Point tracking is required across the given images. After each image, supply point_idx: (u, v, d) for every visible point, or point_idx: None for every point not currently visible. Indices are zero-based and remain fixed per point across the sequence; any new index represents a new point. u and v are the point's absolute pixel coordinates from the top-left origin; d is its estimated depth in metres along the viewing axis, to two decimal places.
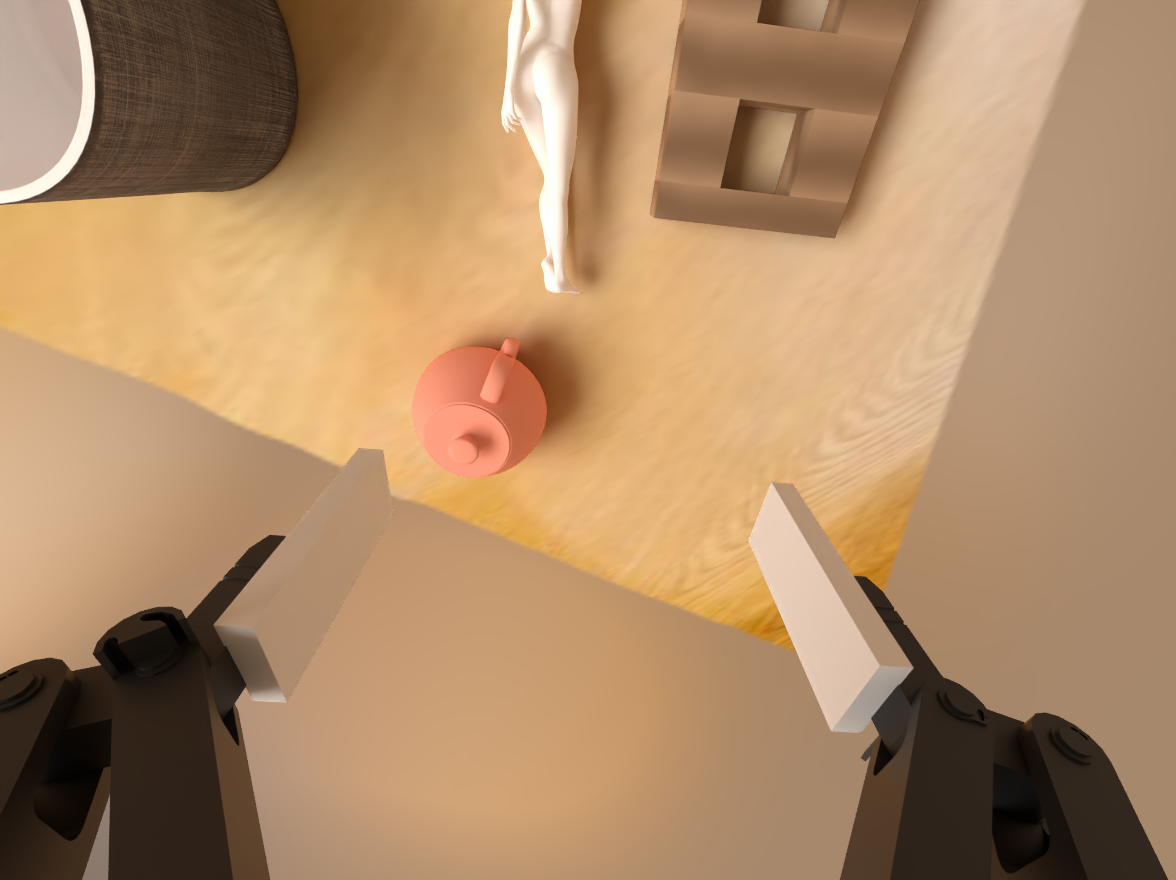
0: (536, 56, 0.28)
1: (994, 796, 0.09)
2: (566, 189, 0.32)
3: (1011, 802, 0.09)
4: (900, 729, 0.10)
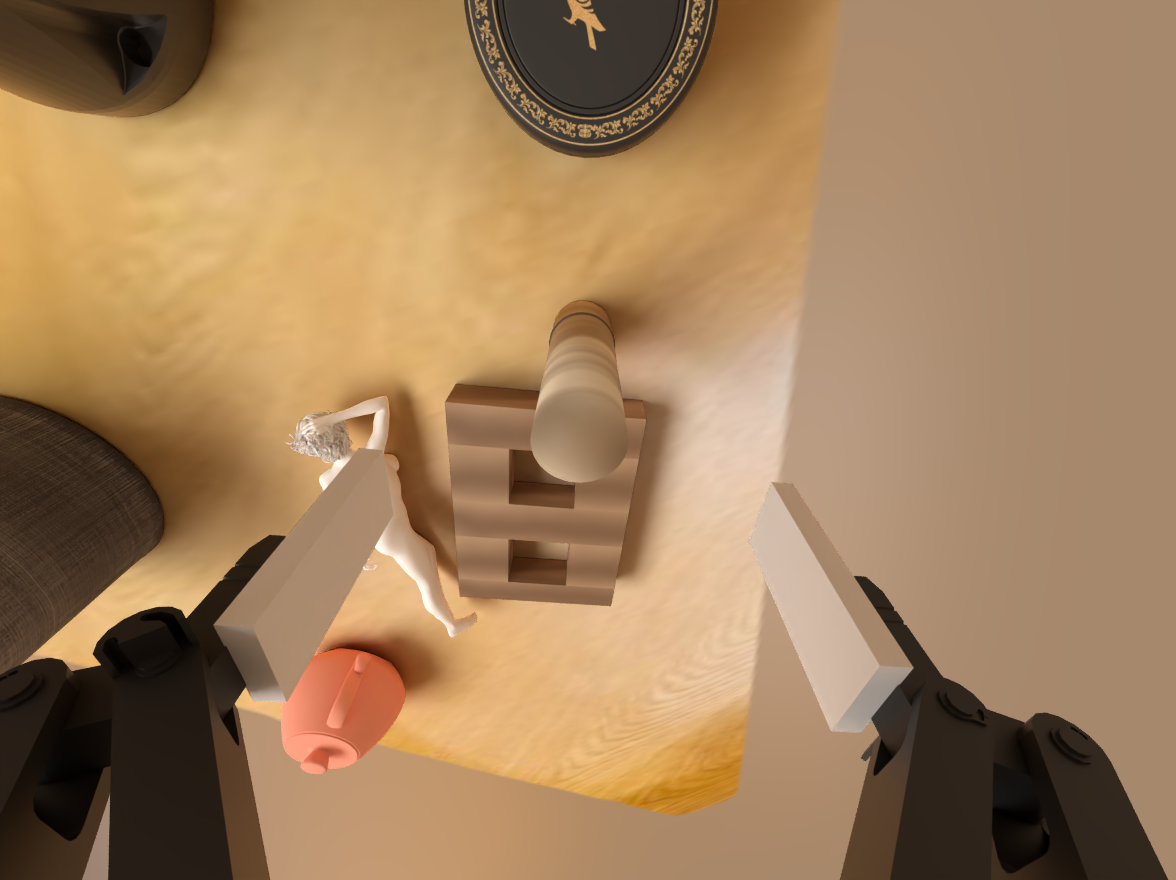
0: None
1: (994, 796, 0.09)
2: (430, 584, 0.39)
3: (1010, 802, 0.09)
4: (900, 729, 0.10)
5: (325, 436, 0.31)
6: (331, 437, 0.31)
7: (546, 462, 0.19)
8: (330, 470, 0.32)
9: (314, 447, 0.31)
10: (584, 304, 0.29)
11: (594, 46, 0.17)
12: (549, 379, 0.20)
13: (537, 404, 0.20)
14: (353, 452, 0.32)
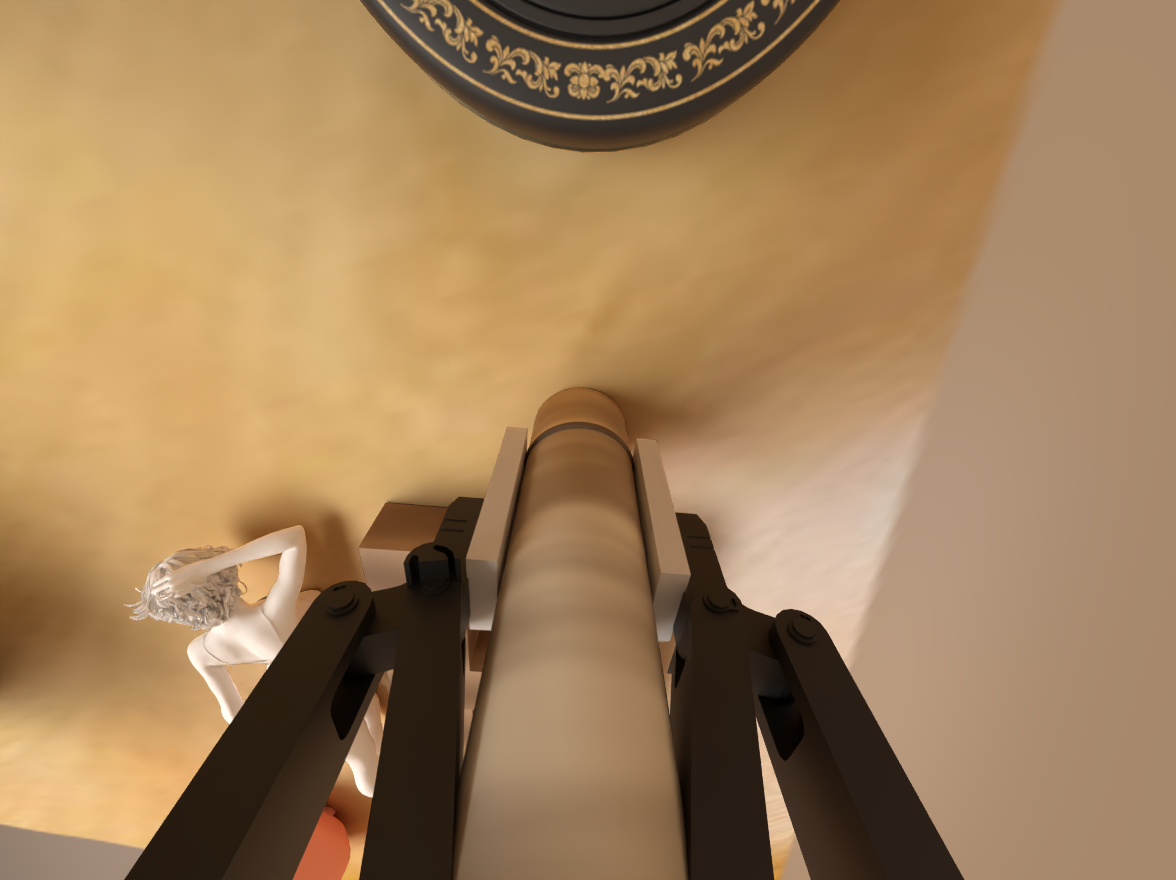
0: None
1: None
2: (366, 762, 0.28)
3: (761, 684, 0.11)
4: (685, 639, 0.11)
5: (192, 597, 0.19)
6: (202, 598, 0.19)
7: None
8: (205, 637, 0.21)
9: (172, 615, 0.19)
10: (583, 398, 0.18)
11: None
12: (499, 671, 0.09)
13: (466, 749, 0.08)
14: (244, 610, 0.21)
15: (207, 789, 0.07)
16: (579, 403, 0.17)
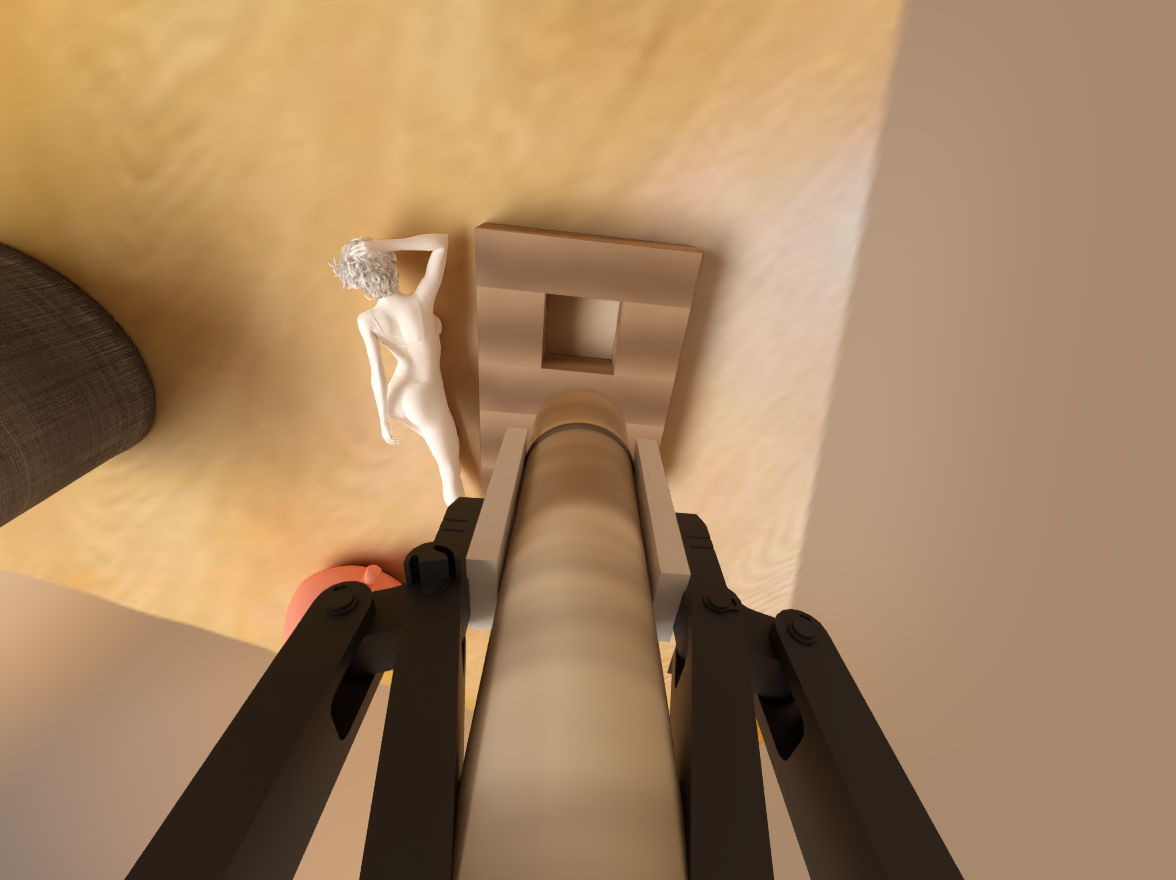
0: (403, 394, 0.31)
1: None
2: (455, 472, 0.35)
3: (761, 684, 0.11)
4: (685, 639, 0.11)
5: (376, 263, 0.27)
6: (382, 265, 0.27)
7: None
8: (372, 309, 0.28)
9: (362, 273, 0.27)
10: (583, 398, 0.18)
11: None
12: (499, 672, 0.09)
13: (466, 751, 0.08)
14: (401, 293, 0.29)
15: (207, 789, 0.07)
16: (579, 404, 0.17)
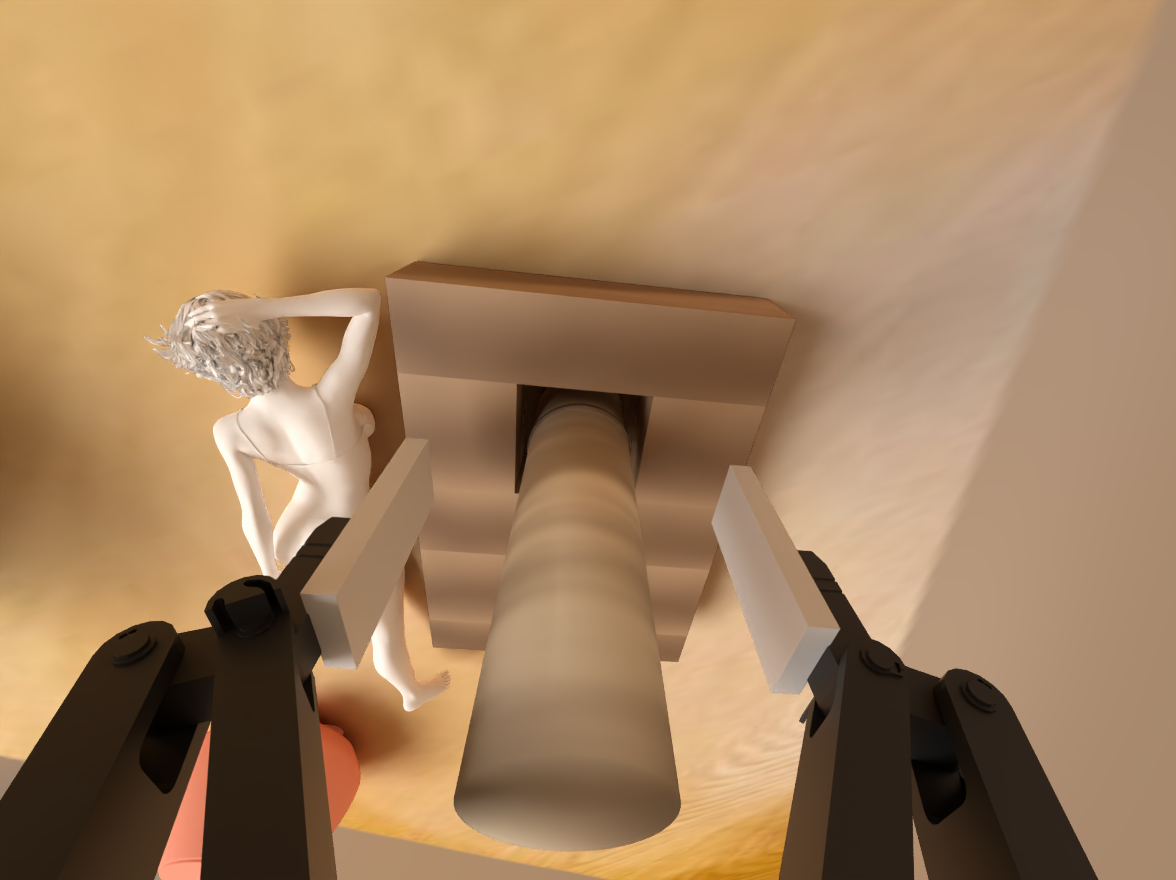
0: (303, 536, 0.19)
1: (912, 746, 0.10)
2: (391, 632, 0.23)
3: (926, 751, 0.10)
4: (830, 690, 0.10)
5: (238, 341, 0.15)
6: (251, 345, 0.15)
7: (494, 831, 0.08)
8: (239, 413, 0.16)
9: (209, 359, 0.15)
10: None
11: None
12: (509, 606, 0.10)
13: (481, 670, 0.09)
14: (293, 386, 0.17)
15: None
16: None
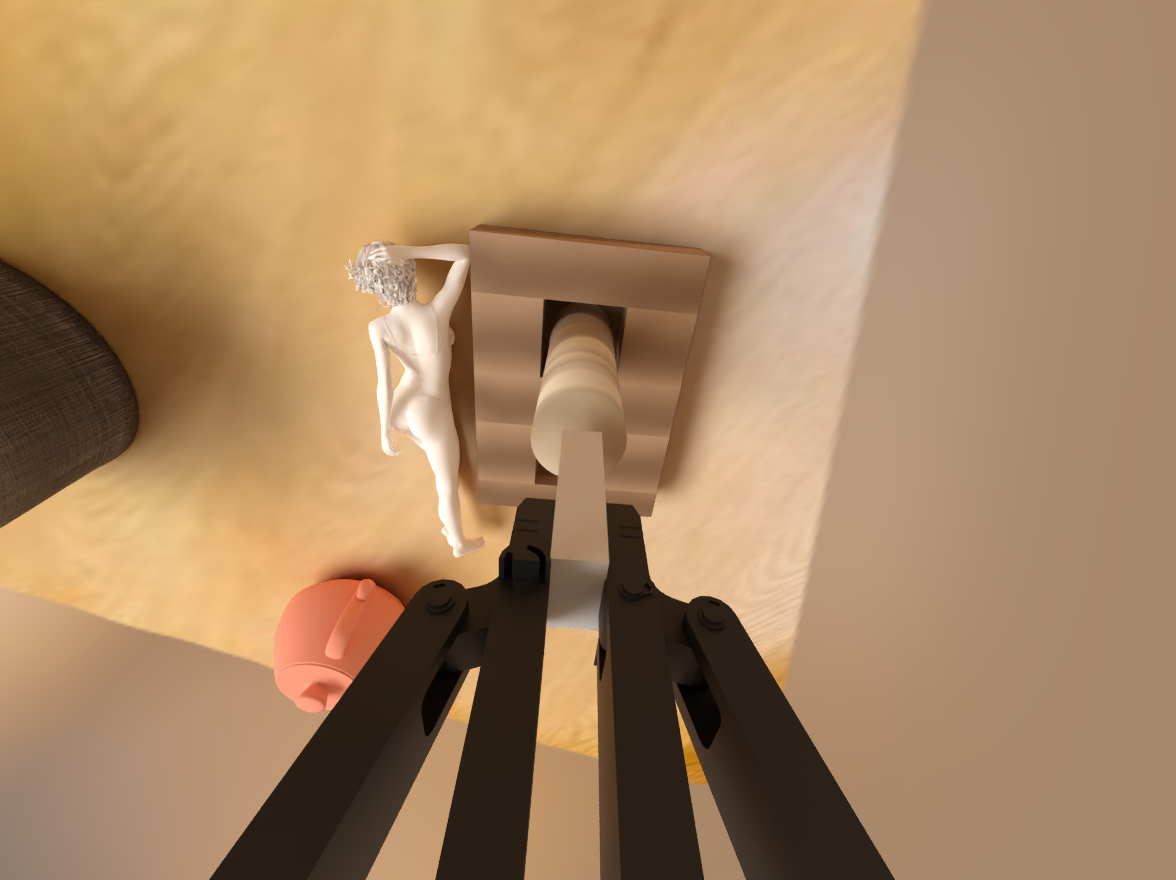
0: (409, 406, 0.30)
1: None
2: (453, 488, 0.34)
3: (674, 670, 0.11)
4: (606, 630, 0.11)
5: (395, 270, 0.25)
6: (402, 273, 0.26)
7: (546, 460, 0.19)
8: (385, 317, 0.27)
9: (379, 279, 0.25)
10: (584, 304, 0.29)
11: None
12: (549, 378, 0.20)
13: (537, 403, 0.20)
14: (418, 302, 0.27)
15: (312, 765, 0.07)
16: (581, 306, 0.29)
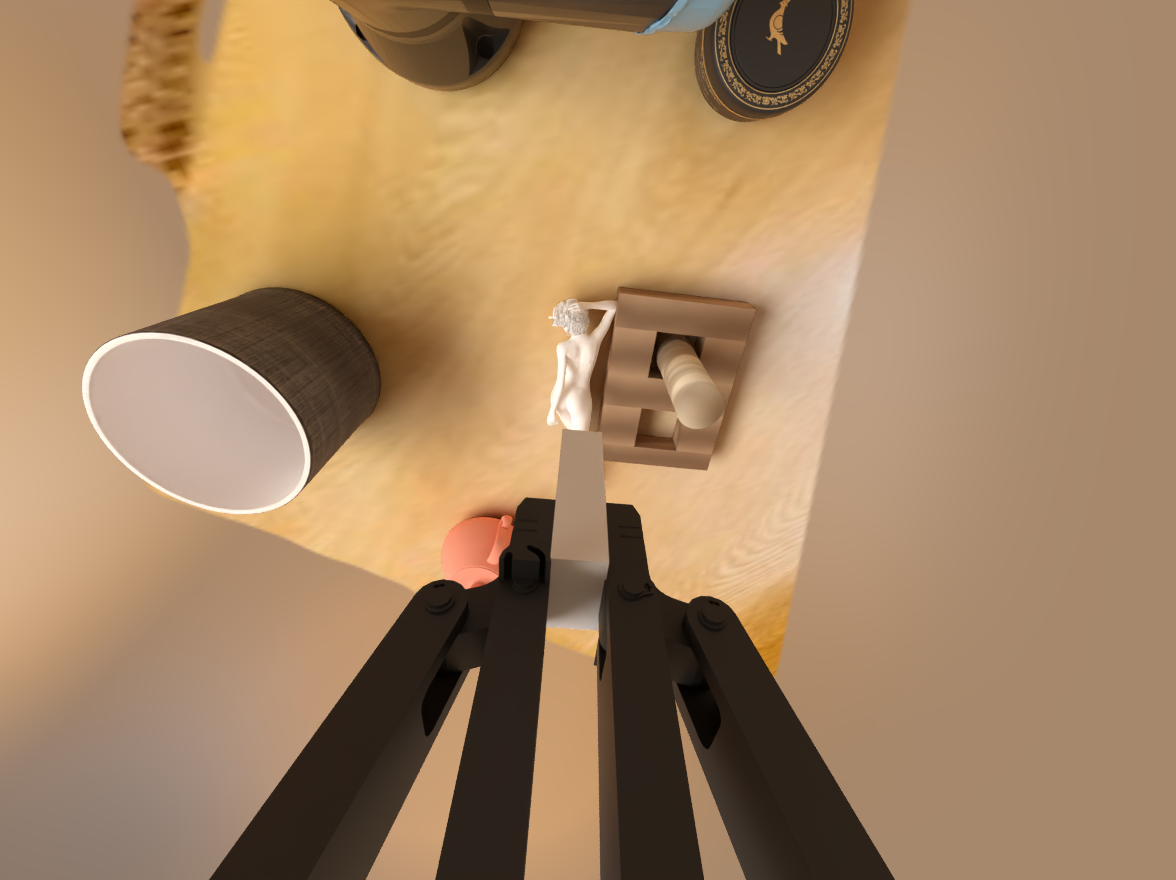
0: (569, 394, 0.49)
1: None
2: None
3: (674, 670, 0.11)
4: (606, 630, 0.11)
5: (581, 315, 0.45)
6: (584, 317, 0.45)
7: (682, 418, 0.38)
8: (568, 341, 0.46)
9: (573, 321, 0.44)
10: (676, 334, 0.49)
11: (780, 52, 0.31)
12: (679, 377, 0.40)
13: (674, 390, 0.39)
14: (586, 333, 0.46)
15: (312, 765, 0.07)
16: (675, 335, 0.48)
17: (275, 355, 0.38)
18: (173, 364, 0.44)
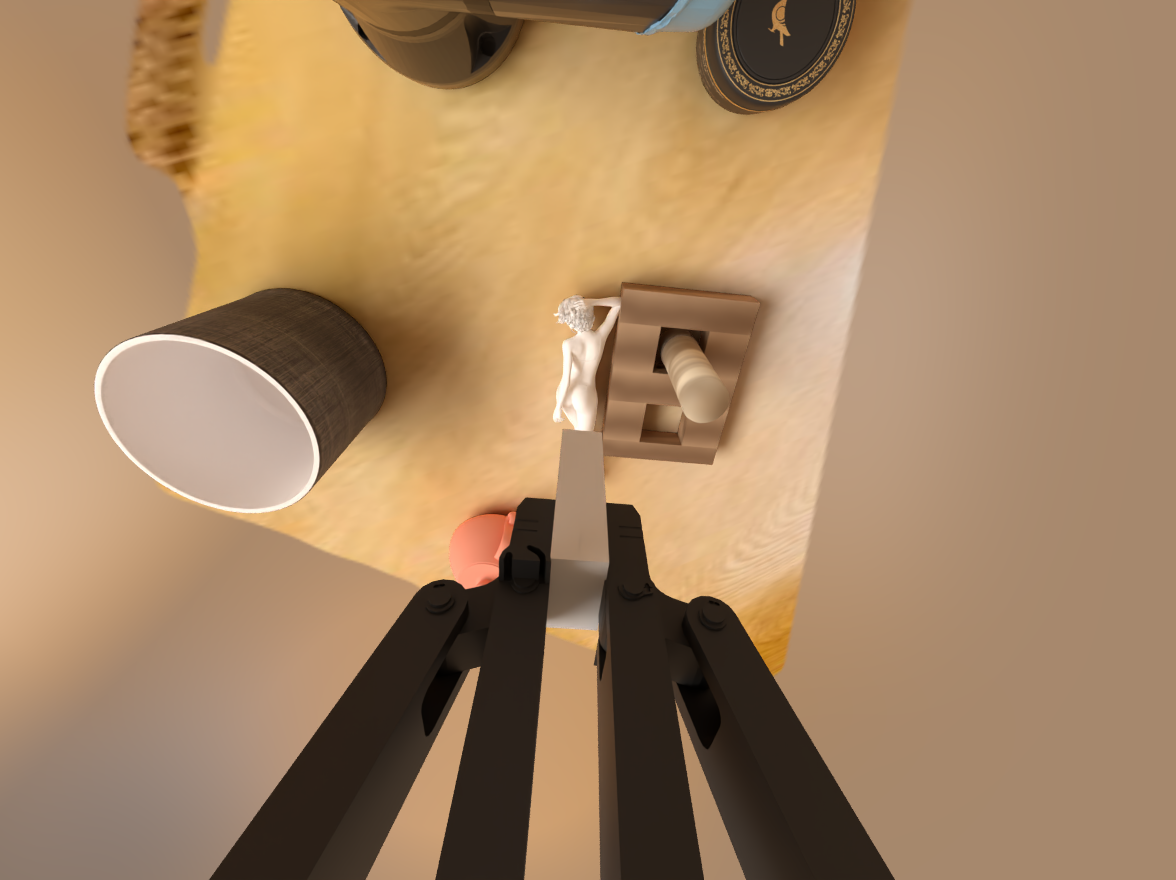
0: (574, 391, 0.49)
1: None
2: None
3: (674, 670, 0.11)
4: (606, 630, 0.11)
5: (586, 312, 0.45)
6: (589, 314, 0.45)
7: (687, 412, 0.38)
8: (573, 338, 0.46)
9: (578, 317, 0.44)
10: None
11: (782, 44, 0.31)
12: (684, 372, 0.40)
13: (679, 384, 0.39)
14: (591, 330, 0.47)
15: (312, 765, 0.07)
16: (679, 330, 0.48)
17: (283, 355, 0.38)
18: (182, 365, 0.44)
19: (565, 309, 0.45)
